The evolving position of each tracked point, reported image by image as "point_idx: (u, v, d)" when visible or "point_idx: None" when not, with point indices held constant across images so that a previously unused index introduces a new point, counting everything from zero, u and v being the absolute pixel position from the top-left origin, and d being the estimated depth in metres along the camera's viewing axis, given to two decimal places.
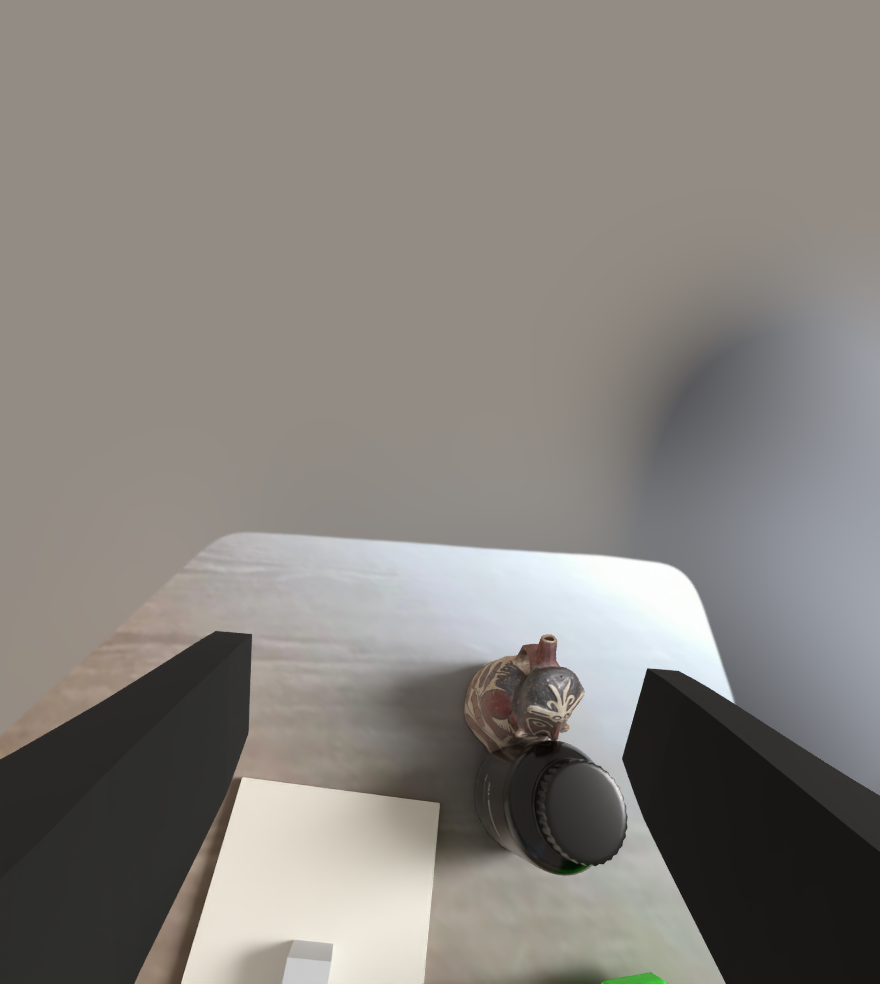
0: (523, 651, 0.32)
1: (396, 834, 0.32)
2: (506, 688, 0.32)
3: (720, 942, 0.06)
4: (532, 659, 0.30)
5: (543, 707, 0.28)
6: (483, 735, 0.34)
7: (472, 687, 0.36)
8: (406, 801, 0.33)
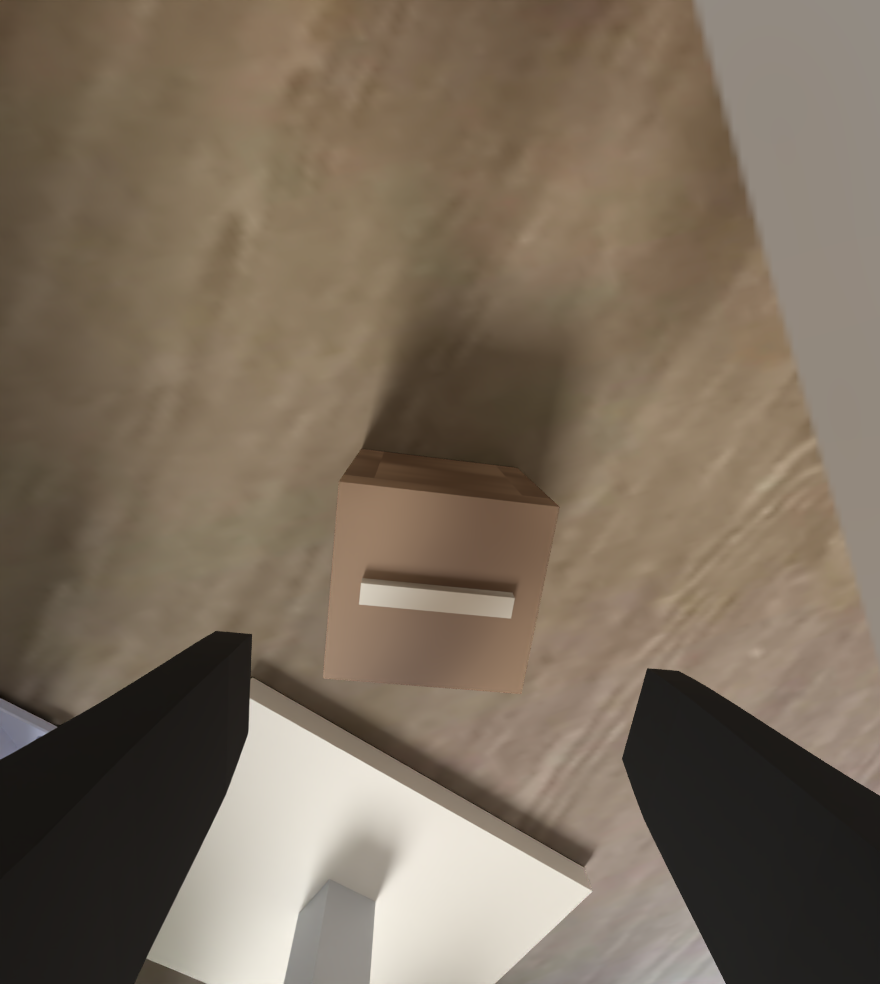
0: None
1: None
2: None
3: (720, 942, 0.06)
4: None
5: None
6: None
7: None
8: None
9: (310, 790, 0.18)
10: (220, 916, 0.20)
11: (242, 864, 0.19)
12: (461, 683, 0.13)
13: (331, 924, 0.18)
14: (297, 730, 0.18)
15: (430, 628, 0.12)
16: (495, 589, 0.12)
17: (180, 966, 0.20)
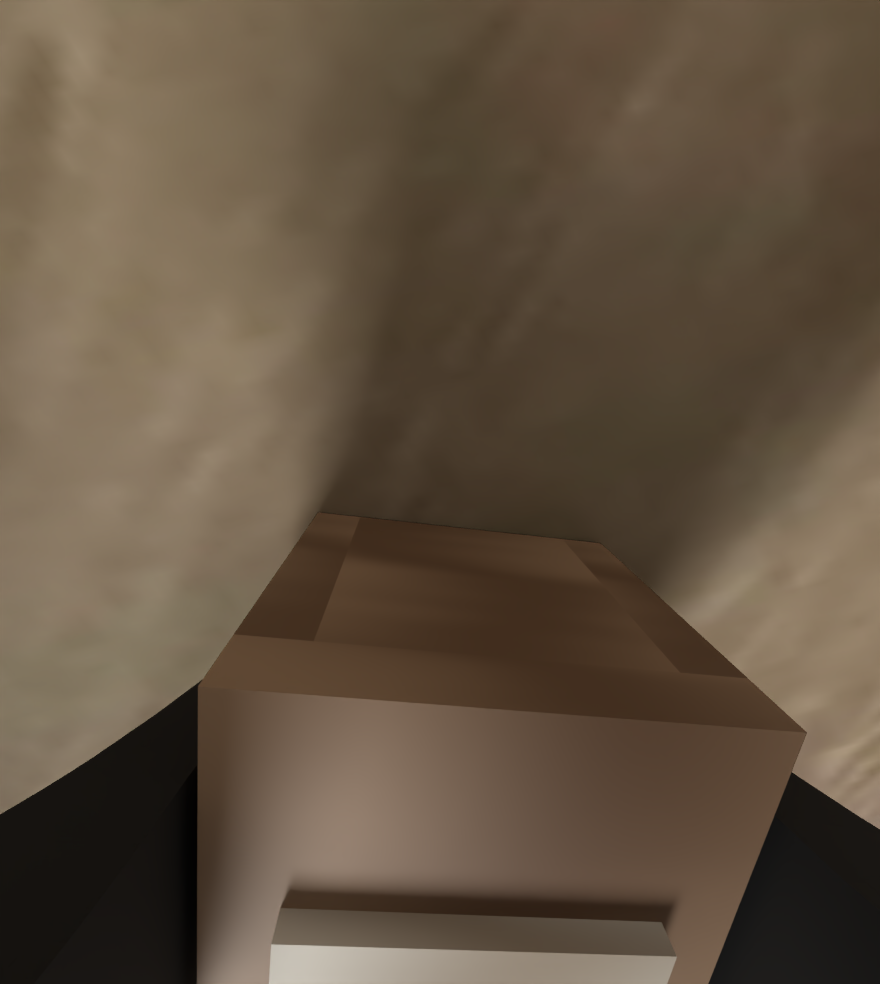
0: None
1: None
2: None
3: None
4: None
5: None
6: None
7: None
8: None
9: None
10: None
11: None
12: None
13: None
14: None
15: None
16: (620, 917, 0.05)
17: None
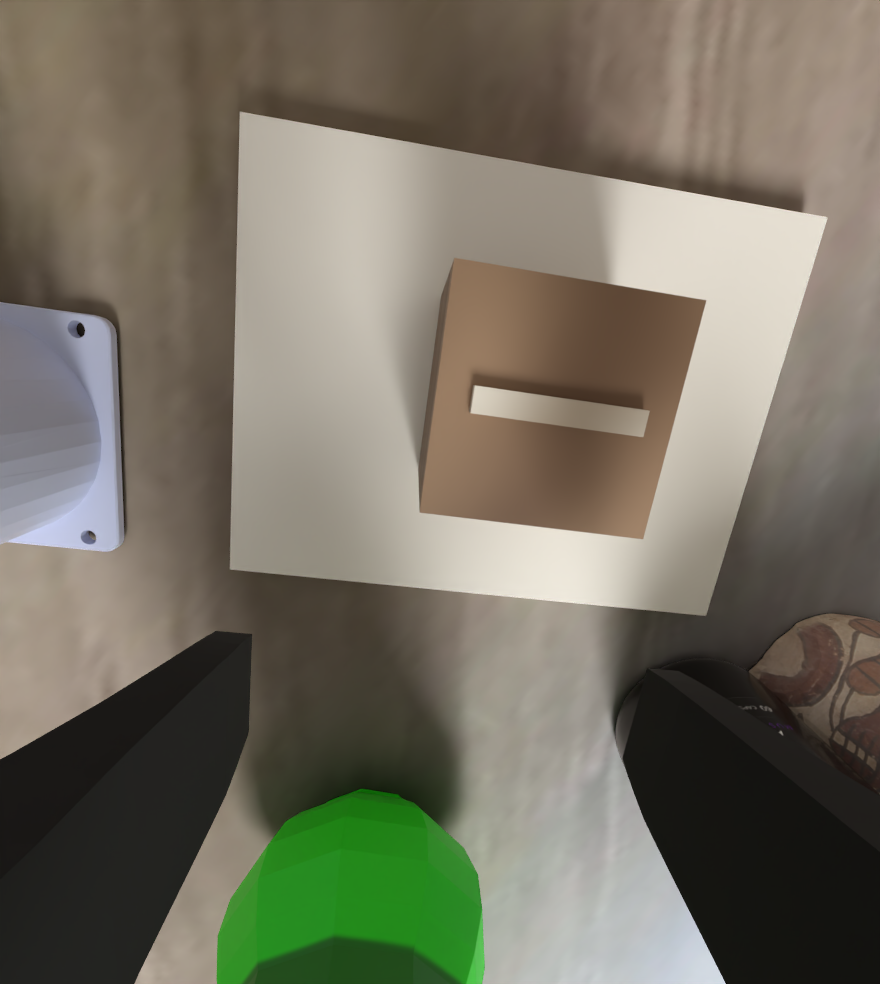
0: None
1: (673, 542, 0.17)
2: None
3: (720, 942, 0.06)
4: None
5: None
6: (818, 679, 0.17)
7: None
8: (719, 558, 0.17)
9: (392, 229, 0.14)
10: (383, 481, 0.16)
11: (370, 389, 0.15)
12: (577, 523, 0.11)
13: None
14: (330, 136, 0.13)
15: (546, 452, 0.11)
16: (624, 404, 0.11)
17: (377, 574, 0.17)
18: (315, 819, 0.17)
